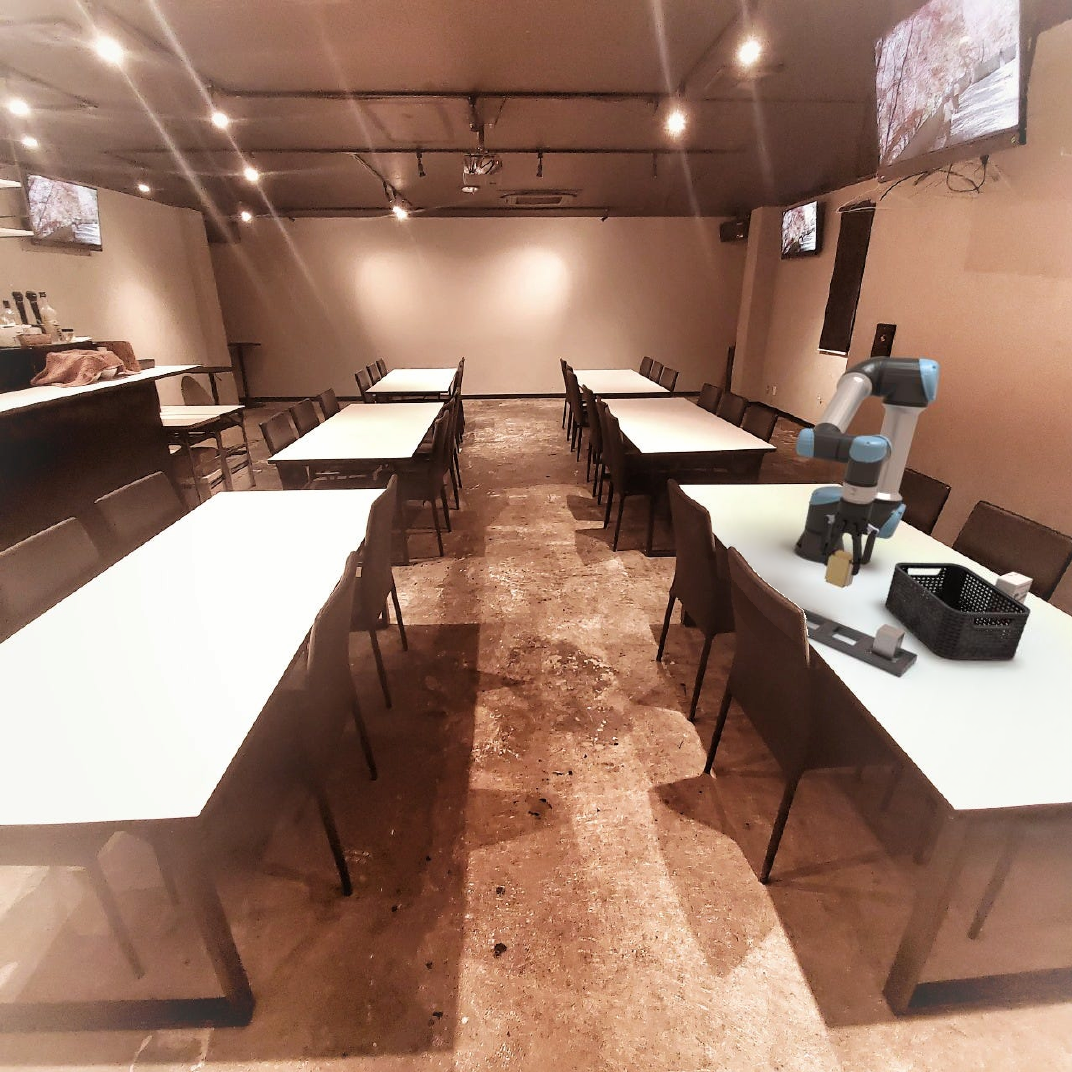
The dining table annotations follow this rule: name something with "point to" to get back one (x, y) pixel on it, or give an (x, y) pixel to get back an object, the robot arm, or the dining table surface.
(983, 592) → the storage bin
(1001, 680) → the dining table surface
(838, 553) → the maple wood beam
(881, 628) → the light grey block
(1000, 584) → the ink box
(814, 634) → the rail
